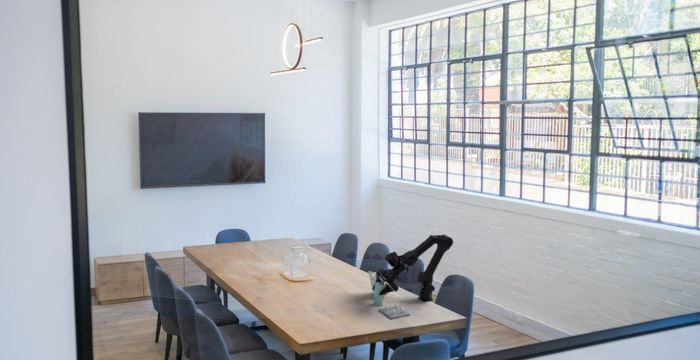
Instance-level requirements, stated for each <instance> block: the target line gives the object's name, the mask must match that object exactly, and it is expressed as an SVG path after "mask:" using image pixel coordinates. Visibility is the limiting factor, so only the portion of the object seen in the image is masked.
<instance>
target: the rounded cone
mask: <svg viewBox="0 0 700 360" xmlns="http://www.w3.org/2000/svg"><path fill="white" fill-rule="evenodd" d="M383 288H384V283H381V282H376V283H375V290H374V293H373V306H375V307H383V301H384V296H383V295H379V293H380V292H381V291H382V289H383Z"/></svg>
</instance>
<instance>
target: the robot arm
mask: <svg viewBox="0 0 700 360" xmlns="http://www.w3.org/2000/svg"><path fill="white" fill-rule="evenodd" d="M453 244H454V240H453V237H450V236H449V235H447V234H431V235H429V236H428V237H427V238H426V239H424V241H422V242H421V243H420V244H419V245H418V246H416V247H415V248H414V249H412V250H408V251H406V252H404V253H403V254H402V255H399V254H397V252H395V251H392V252H389V253H387V254H386V255H385V258H384V259H385V261H386V262H387V263H388V265H390V267H392V268H384V267H382V266H380V267H379V268H378V270H377V271H376V273H375V272H374V273H375V274H376V282H381V283H383V282H385V283H386V284H385V287H384V288H383V289H382V291H381V292H380V293H379V295H383V294H386V293H388V294H389V293H391V292H395V293H397V292H398V291H399V286H398V285H397V284H396V282H395V281H397V280H399V279H400V276H401V275H402V274H403V273H404V272H406V273H409V267H412V266H414V265H415V264H416V263H417V262H418V259H419V258H420V256H422V255H423V254H424V253H426V251H428V250H429V249H431V247H433V246H434V245H436V249H435V252H434V253H433V255H432V257H431V259H430V261H429V262H428V264H427V267H426V269H425V270H424V271H423V272H422V271H420V272H419V274H418V276H417V277H416V278H417V280H416V283H417V284H418V286H419V287H420V288H419V289H420V291H419V295H418V297H417V298H418V299H419V300H421V301H422V302H431V301H434V299H433V292H435V289H436V287H435V286H434V285H433V281H434V273H435V272H436V271H437V268H438V266H439V264H440V262H441V261H442V258H443V256H444V254H445V253H446V252H447V251H449V250H450V249H451V247H452V246H453ZM382 281H383V282H382ZM376 282H375V283H376ZM372 289H373V290H375V284H374V286H373V288H372V287H371V290H372Z"/></svg>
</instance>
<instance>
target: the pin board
mask: <svg viewBox="0 0 700 360" xmlns="http://www.w3.org/2000/svg"><path fill="white" fill-rule="evenodd" d="M378 311H379V312H381V313H382V314H384V315H385V316H386V317H387V318H389V319H391V320H394V319H399V318H406V317H410V316H411V313H410V312H408V311H406V309H404V307H400V306H399V305H398V303H394V305H392V306H391V305H390V306H389V304H386V305H385V307H381V308H380V307H379V308H378Z"/></svg>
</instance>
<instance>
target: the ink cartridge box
mask: <svg viewBox="0 0 700 360" xmlns="http://www.w3.org/2000/svg"><path fill="white" fill-rule="evenodd" d="M376 272H377V271H376ZM376 272H373V271H370V270H368V277H369V281H370V286H371V292H372V291H373V292H374V290H373V289H372V288H373V286H374V284H375V282H376V274H375V273H376ZM382 282H383V281H382ZM383 283H384V287H385V284H386V282H383ZM373 292H372V293H373ZM388 294H389V293H386V294H383V297H385V296H386V295H388Z"/></svg>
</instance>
